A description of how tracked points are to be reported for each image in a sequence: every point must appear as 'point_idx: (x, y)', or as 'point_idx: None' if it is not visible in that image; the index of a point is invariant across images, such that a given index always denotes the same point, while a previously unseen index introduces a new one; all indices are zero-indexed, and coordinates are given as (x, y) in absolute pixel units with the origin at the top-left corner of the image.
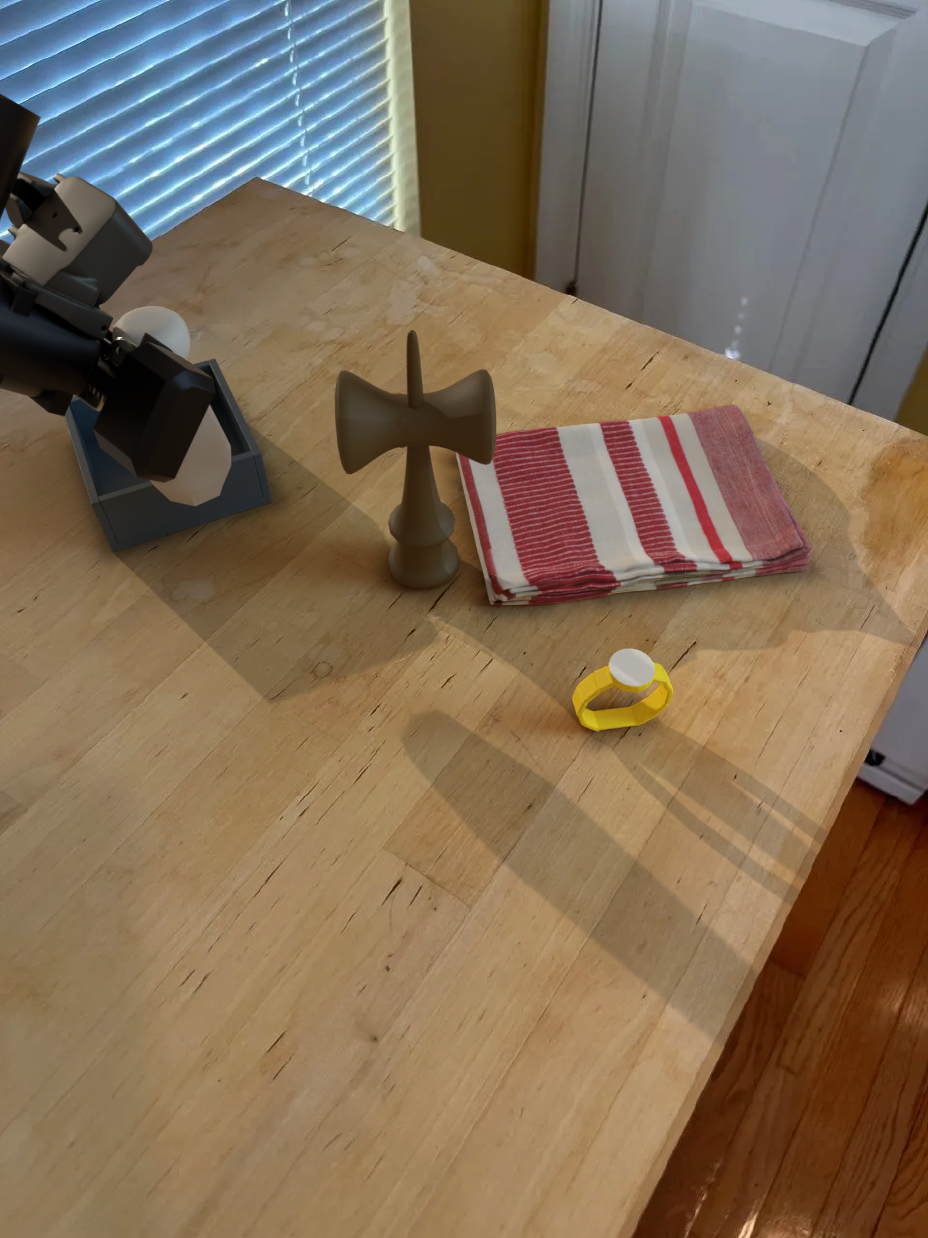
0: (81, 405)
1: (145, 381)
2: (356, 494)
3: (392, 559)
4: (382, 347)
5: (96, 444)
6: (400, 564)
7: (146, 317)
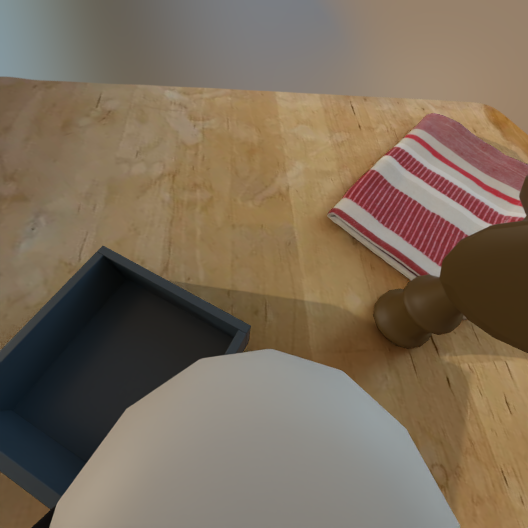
0: None
1: None
2: (299, 290)
3: (395, 335)
4: (201, 164)
5: (26, 402)
6: (411, 338)
7: None
